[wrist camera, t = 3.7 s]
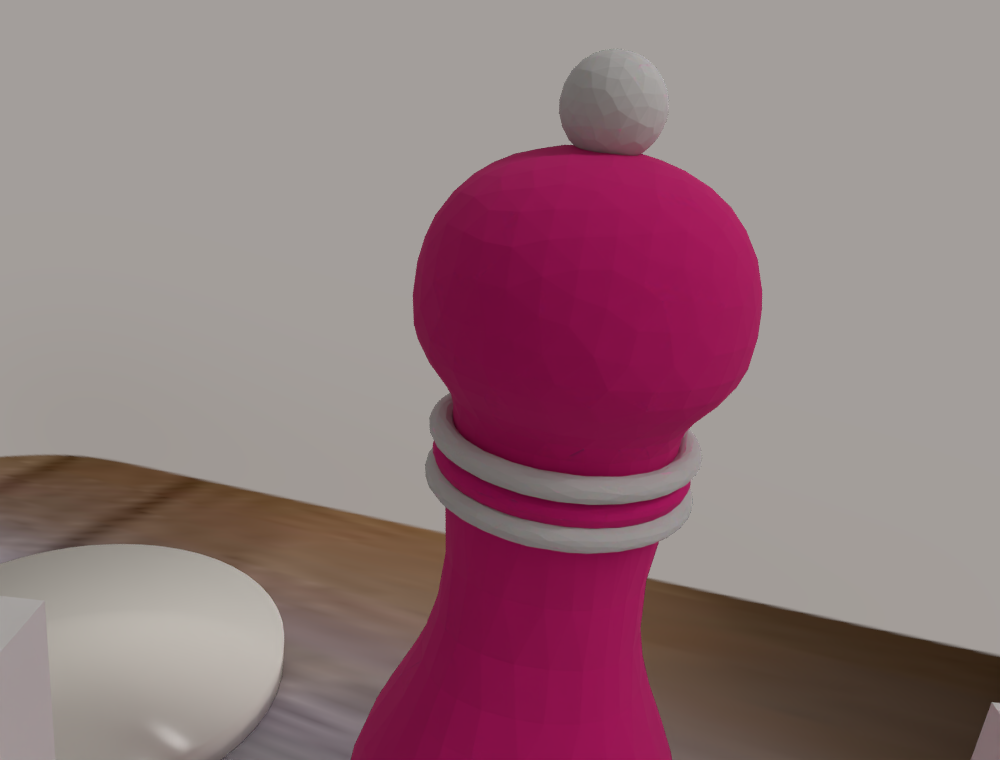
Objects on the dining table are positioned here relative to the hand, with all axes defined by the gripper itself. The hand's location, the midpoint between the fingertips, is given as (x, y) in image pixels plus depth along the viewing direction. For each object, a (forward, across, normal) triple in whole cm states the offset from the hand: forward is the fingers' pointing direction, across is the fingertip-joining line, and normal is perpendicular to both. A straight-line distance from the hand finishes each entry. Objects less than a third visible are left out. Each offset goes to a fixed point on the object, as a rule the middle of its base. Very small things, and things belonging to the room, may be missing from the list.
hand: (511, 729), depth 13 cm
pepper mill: (+5, +1, -11) cm, 12 cm away
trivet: (+13, -12, -11) cm, 21 cm away
